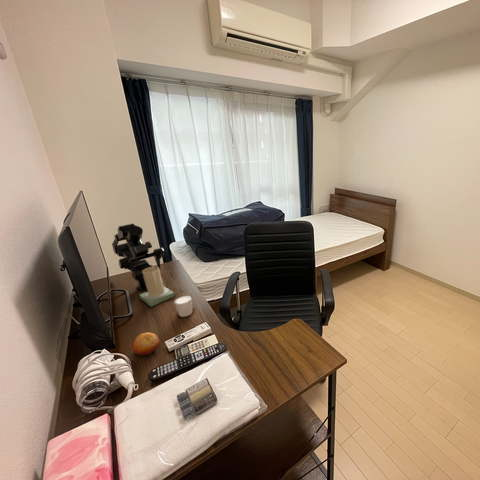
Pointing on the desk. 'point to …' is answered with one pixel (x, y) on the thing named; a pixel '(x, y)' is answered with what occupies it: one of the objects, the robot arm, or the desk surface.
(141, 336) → the fruit
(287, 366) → the desk surface
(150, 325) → the desk surface
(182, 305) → the white cylinder
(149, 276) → the cup
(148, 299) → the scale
